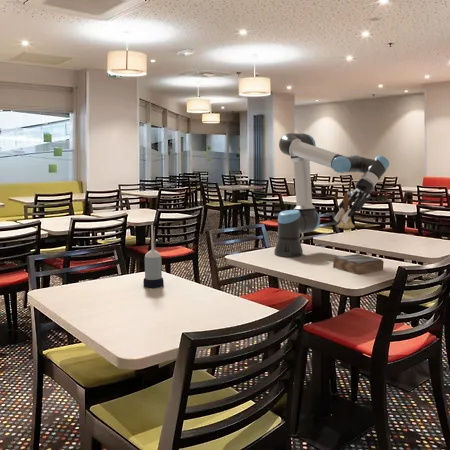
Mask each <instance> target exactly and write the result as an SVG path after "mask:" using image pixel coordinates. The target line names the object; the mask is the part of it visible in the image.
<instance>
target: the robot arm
mask: <svg viewBox="0 0 450 450" xmlns="http://www.w3.org/2000/svg"><path fill="white" fill-rule="evenodd" d="M316 145H317V144H316V140H315V139H314V137H312V136H311V134H307V133H297V132H296V133H293V132H290V133H285V134H283V135H282V136H281V138H280V139H279V142H278V147H279V150H280V151H281V153H283V154H284V155H287V156H290V160H291V161H292V162H293V170H294V171H293V172H294V185H295V187H294V188H295V200H296V202H295V203H296V205H295V207H294V208H293V209H289V210H287V209H286V210H282V211H280V212H279V213H278V216H277V241H276V245H275V248H274V250H273V251H274V252H273V253H274V255H275V256H278V257H283V258H284V257H286V258H287V257H289V258H292V257H293V258H294V257H295V258H296V257H300V256H303V254H304V253H303V252H304V250H303V247H302V244H301V239H300V238H301V234H304V233H311V232H314V231H316V230H317V229H318V228H319V226H320V224H321V217H320V214H319V213H318V212H317V211H316V207H315V206H314V205H313V197H312V179H311V164H310V163H311V162H312V163H316V164H319V165H321V166H323V167H327V168H328V169H329V168H330V169H332V170H333V171H334V172H336V173H341V174H344V173H345V174H346V173H361V174H362V176H361V177H360V178H359V180H358V181H357V183H356V184H355V189H353V190H352V191H347V192H346V193H348V197H349V203H348V211H347V213H346V214H345V215H344V217H343V218H342V220H343V222H344V223H346V222H347V221H348V220H349V218H350V217H351V218H352V216H353V215H354V213H356V212H358V213H359V212H360V211H361V210H362V209H363V207H364V205H365V204H367V201H368V200H369V199H371V192H372V190H373V189H374V188H375V186H376V184H377V183H378V182H379V181H380V179H381V178H382V177H383V176H384V174H385V173H386V172H387V169H388V168H389V167H390V162H389V160H388V159H387V158H386V156H384V155H377V156H375V157H374V159H373V158H368V157H363V156H360V155H355V154H354V155H353V154H352V155H350V156H346V155H342V154H339V153H336V152H334V151H330V150H327V149H324V148H321V147H318V146H316ZM351 205H352V206H351ZM350 206H351V207H350ZM338 207H339V210H338V211H337V213H336V214H335V216H334V217H333V219H334V220H335V222H336V223H339V222H340V220H341V215H343V214H344V203H343V199H342V200H341V202H340V203H339V205H338ZM349 207H350V208H349Z"/></svg>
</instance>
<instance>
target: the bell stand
mask: <svg viewBox="0 0 450 450" xmlns="http://www.w3.org/2000/svg"><path fill="white" fill-rule="evenodd" d="M332 261H333V262H332V263H333V264H332V265H333V268H334V269H336V270H341V271H345V272H348V273H352V274H355V275H361V274H368V273H373V272H381V271H384V263H385V262H384V260H383V259H380V258H378V257H373V256H368V255H363V254H361V253H357V254H348V255H340V256H334V257H333V260H332Z"/></svg>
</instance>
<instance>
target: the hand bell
mask: <svg viewBox="0 0 450 450" xmlns="http://www.w3.org/2000/svg"><path fill="white" fill-rule="evenodd" d="M342 200H343V203H344V214H343V215H341V219H340V220H339V221H338V224H337V225H336V228H340V229H354V228H355V224H353V222H352V216H351V217H350V218H349V220H348V221H347V222H346V223H344V222H343V220H342V218H343V217H344V215H345V214H346V213H347V211H348V210H349V207H348V203H349V197H348V193H347V192H344V195H343V198H342Z"/></svg>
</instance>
